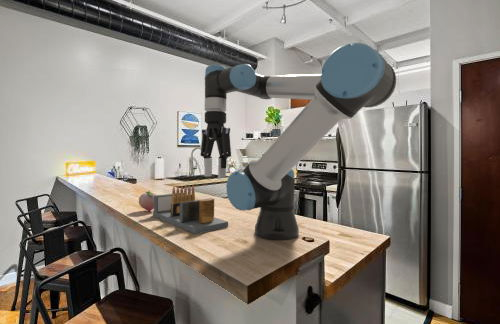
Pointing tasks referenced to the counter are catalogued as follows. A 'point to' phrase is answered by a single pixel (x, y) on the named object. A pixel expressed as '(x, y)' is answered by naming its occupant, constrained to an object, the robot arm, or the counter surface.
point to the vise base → (164, 213)
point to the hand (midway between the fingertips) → (214, 177)
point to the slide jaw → (197, 210)
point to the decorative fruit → (147, 201)
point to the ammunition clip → (181, 199)
